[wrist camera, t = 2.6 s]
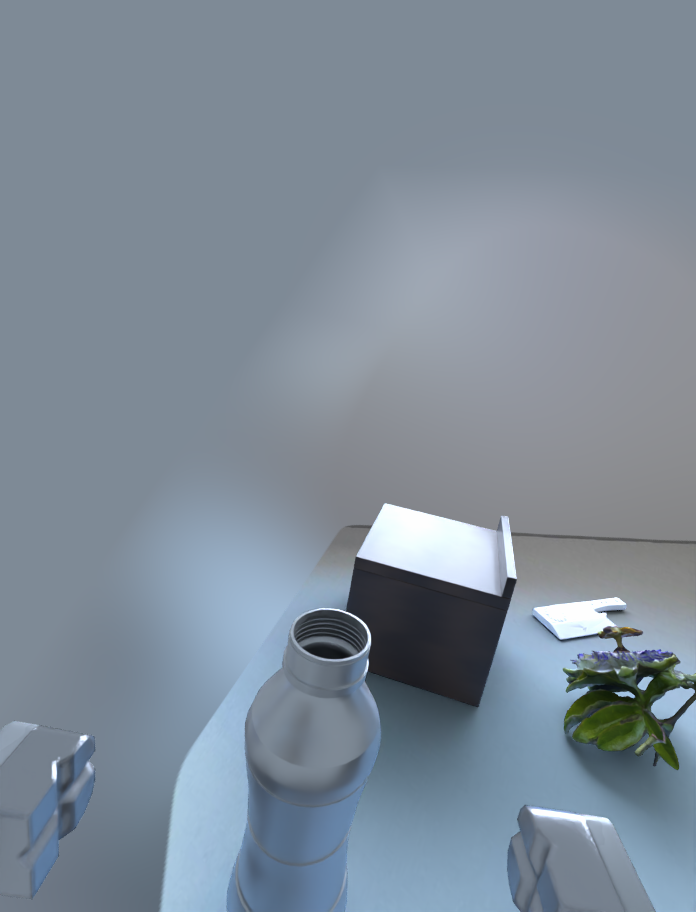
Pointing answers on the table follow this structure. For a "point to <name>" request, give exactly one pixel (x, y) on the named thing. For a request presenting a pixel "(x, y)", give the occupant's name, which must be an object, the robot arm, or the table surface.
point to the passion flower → (625, 717)
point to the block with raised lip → (433, 599)
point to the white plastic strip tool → (578, 617)
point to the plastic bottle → (307, 768)
